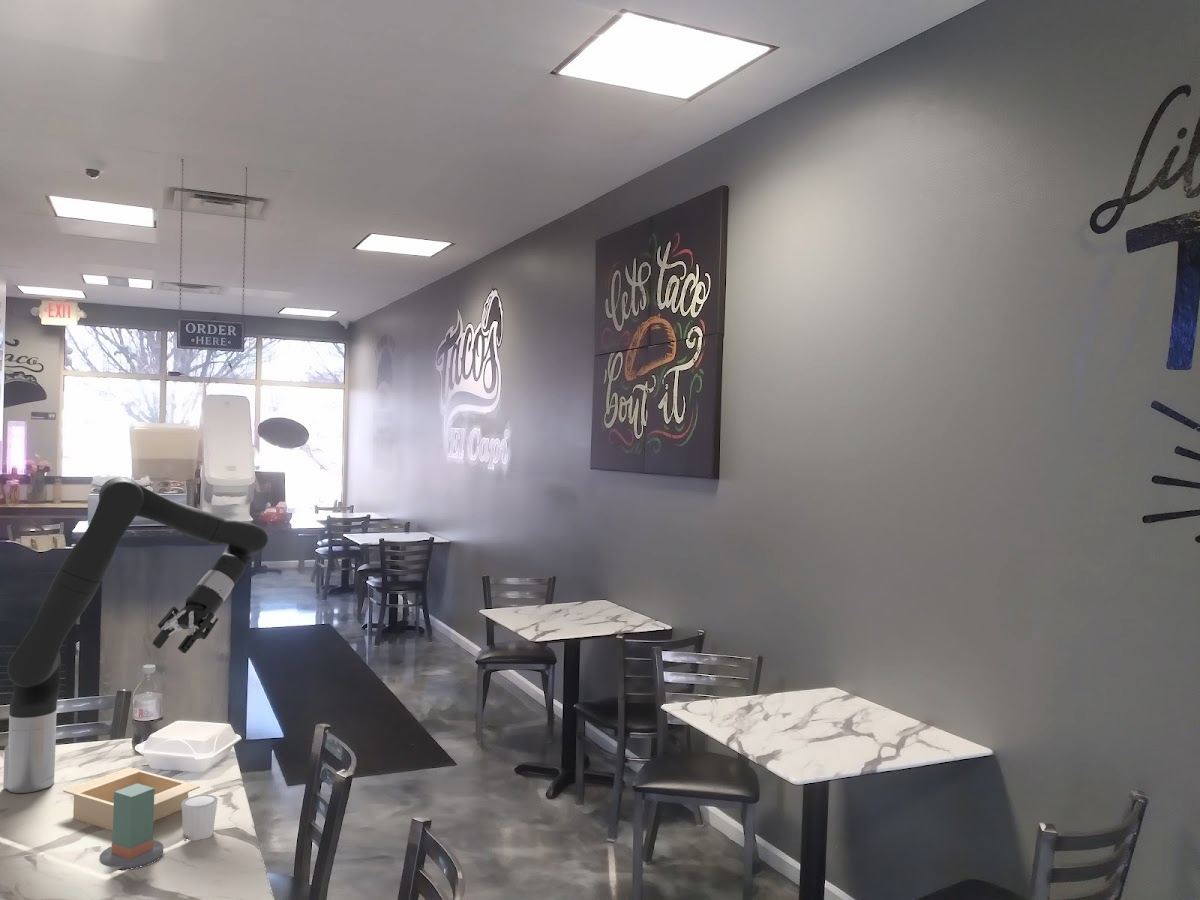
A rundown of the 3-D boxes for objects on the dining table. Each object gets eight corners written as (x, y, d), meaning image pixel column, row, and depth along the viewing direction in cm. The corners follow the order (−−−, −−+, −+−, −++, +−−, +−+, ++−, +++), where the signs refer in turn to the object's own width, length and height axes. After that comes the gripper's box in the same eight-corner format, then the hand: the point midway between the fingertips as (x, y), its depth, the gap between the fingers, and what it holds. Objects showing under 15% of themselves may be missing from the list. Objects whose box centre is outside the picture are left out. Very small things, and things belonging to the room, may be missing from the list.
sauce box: (111, 853, 170) (113, 791, 170) (135, 843, 174) (137, 783, 174) (129, 859, 168) (131, 797, 167) (153, 848, 172) (154, 788, 172)
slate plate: (85, 866, 166) (85, 861, 166) (127, 841, 177) (127, 836, 177) (136, 873, 164) (136, 868, 164) (175, 847, 175) (175, 842, 175)
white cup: (180, 844, 177) (181, 809, 177) (179, 830, 183) (180, 797, 183) (217, 838, 180) (218, 804, 180) (215, 824, 186) (216, 792, 186)
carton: (62, 818, 186) (63, 790, 186) (128, 793, 201) (129, 767, 201) (134, 841, 177) (135, 812, 177) (199, 813, 191) (200, 786, 191)
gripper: (181, 580, 215) (137, 635, 204) (223, 586, 209) (180, 643, 198) (198, 599, 220) (156, 654, 209) (240, 605, 214) (199, 662, 203)
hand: (168, 648), depth 204 cm, fingers open, 8 cm apart
